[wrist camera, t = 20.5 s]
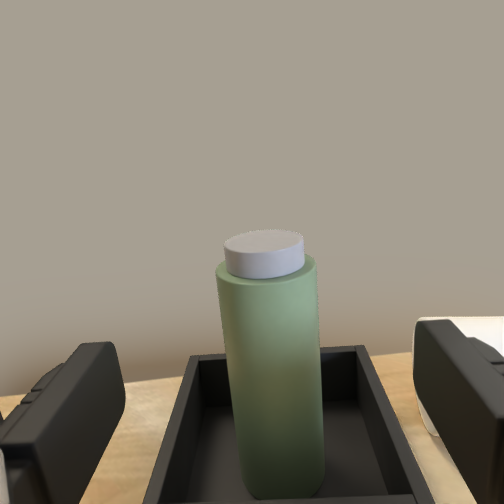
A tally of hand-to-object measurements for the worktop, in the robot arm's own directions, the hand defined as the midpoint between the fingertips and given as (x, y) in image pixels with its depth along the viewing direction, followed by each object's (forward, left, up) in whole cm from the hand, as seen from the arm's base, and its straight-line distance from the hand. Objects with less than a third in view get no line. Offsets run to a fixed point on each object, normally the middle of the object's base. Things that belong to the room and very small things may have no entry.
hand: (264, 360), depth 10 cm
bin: (0, -11, -16) cm, 19 cm away
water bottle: (0, -11, -15) cm, 19 cm away
